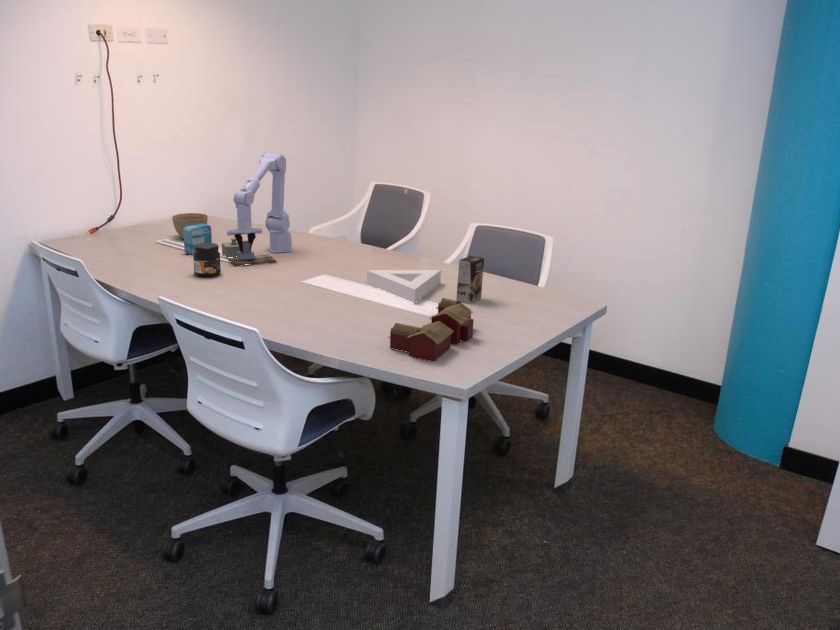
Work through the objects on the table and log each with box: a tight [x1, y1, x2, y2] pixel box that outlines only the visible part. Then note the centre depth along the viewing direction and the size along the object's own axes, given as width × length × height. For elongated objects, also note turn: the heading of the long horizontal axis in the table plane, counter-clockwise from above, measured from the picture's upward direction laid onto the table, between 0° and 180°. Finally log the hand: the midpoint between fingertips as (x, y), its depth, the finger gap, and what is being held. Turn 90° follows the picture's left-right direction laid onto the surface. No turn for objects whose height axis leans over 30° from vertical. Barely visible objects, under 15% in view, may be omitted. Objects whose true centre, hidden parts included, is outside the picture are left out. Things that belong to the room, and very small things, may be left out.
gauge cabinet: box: [221, 241, 240, 258], centre depth 328 cm, size 9×8×5 cm
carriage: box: [237, 240, 255, 261], centre depth 317 cm, size 6×6×7 cm
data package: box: [183, 224, 213, 256], centre depth 329 cm, size 12×4×12 cm, turn 147°
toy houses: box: [387, 297, 475, 362], centre depth 245 cm, size 45×20×10 cm, turn 156°
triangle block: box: [366, 269, 442, 304], centre depth 291 cm, size 30×26×6 cm
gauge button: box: [230, 236, 237, 245], centre depth 327 cm, size 3×3×5 cm
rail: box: [228, 254, 277, 267], centre depth 320 cm, size 18×10×2 cm, turn 118°
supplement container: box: [192, 242, 222, 278], centre depth 297 cm, size 10×10×12 cm
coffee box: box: [455, 255, 485, 305], centre depth 280 cm, size 9×6×16 cm
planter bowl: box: [171, 212, 209, 240], centre depth 352 cm, size 16×16×11 cm
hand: (245, 250), depth 317 cm, fingers closed on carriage, 3 cm apart
